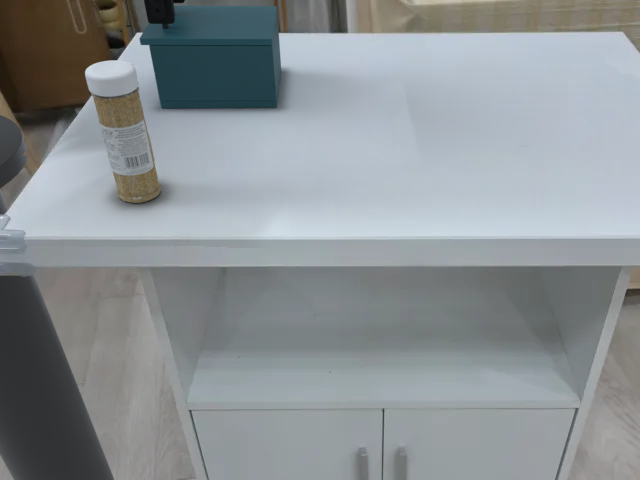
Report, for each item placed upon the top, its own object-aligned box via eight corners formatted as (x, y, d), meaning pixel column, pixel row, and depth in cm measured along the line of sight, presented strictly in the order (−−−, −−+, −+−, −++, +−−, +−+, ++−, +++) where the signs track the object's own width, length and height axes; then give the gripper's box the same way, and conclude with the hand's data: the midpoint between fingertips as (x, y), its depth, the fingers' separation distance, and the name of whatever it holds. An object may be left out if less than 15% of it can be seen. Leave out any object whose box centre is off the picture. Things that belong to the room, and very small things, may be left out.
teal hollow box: (161, 108, 88) (148, 45, 82) (177, 70, 97) (167, 12, 92) (276, 108, 89) (272, 45, 83) (281, 70, 98) (277, 12, 93)
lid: (140, 45, 82) (131, 1, 79) (159, 11, 92) (152, -29, 89) (272, 45, 83) (268, 2, 80) (277, 12, 93) (274, -28, 90)
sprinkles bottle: (160, 180, 74) (133, 56, 65) (163, 201, 71) (136, 73, 62) (116, 186, 73) (83, 60, 64) (117, 207, 70) (83, 78, 61)
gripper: (121, -166, 81) (150, -8, 92) (83, -146, 68) (122, 35, 79) (185, -165, 81) (206, -8, 93) (159, -144, 68) (187, 35, 80)
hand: (167, 11), depth 86 cm, fingers open, 7 cm apart
